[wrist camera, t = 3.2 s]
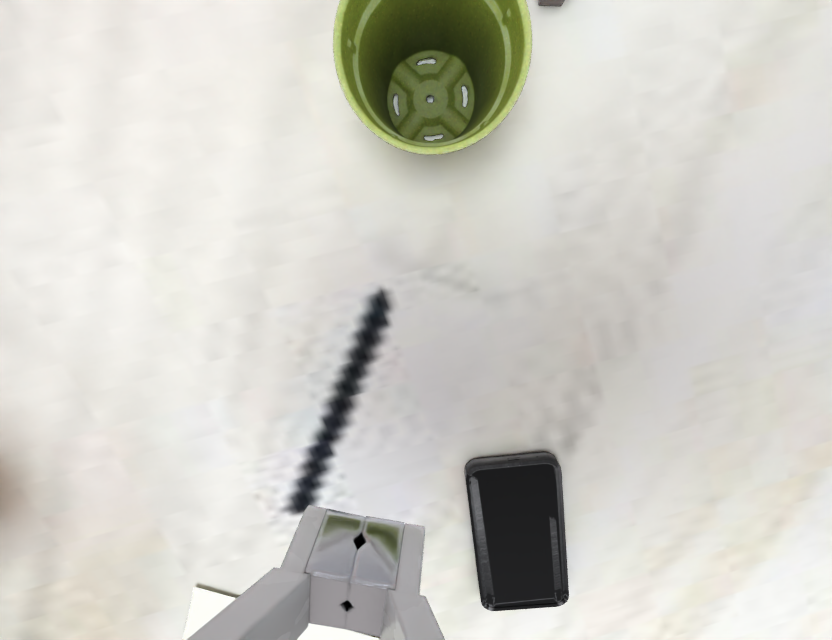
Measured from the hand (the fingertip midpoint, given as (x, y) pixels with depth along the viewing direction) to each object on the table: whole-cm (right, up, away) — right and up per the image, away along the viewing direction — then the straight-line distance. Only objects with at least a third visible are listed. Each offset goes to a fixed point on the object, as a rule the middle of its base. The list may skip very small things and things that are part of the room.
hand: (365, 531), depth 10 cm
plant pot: (+2, +20, +17) cm, 27 cm away
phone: (+10, -13, +25) cm, 30 cm away
